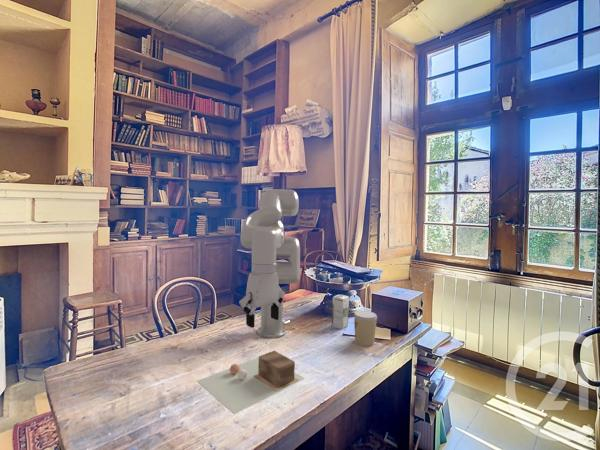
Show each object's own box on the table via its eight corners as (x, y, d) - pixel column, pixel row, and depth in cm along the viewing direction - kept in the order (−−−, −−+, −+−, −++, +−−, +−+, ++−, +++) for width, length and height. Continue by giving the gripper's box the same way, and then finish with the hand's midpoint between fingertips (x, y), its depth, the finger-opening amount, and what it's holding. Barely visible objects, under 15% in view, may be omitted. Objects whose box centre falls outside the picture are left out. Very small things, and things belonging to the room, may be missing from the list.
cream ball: (243, 375, 101) (243, 366, 101) (249, 379, 99) (249, 369, 99) (235, 378, 99) (235, 369, 99) (240, 382, 97) (241, 373, 96)
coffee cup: (356, 336, 138) (357, 309, 137) (378, 340, 134) (379, 312, 133) (350, 344, 129) (351, 315, 129) (373, 349, 125) (374, 319, 125)
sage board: (264, 358, 115) (264, 355, 115) (304, 382, 100) (305, 378, 100) (196, 384, 97) (196, 380, 97) (234, 418, 82) (234, 414, 82)
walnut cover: (258, 374, 101) (258, 356, 101) (273, 368, 105) (274, 350, 105) (278, 388, 94) (278, 368, 93) (294, 380, 98) (294, 361, 98)
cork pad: (275, 367, 106) (275, 366, 106) (298, 380, 99) (298, 379, 99) (253, 376, 100) (253, 375, 100) (276, 391, 92) (276, 390, 92)
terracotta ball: (236, 370, 104) (236, 361, 104) (241, 373, 102) (241, 364, 102) (228, 373, 102) (228, 364, 102) (233, 377, 100) (233, 367, 100)
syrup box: (337, 323, 153) (338, 293, 152) (348, 326, 149) (349, 296, 148) (331, 326, 148) (332, 296, 147) (342, 329, 144) (343, 298, 144)
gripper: (276, 263, 107) (275, 313, 108) (233, 270, 94) (232, 326, 95) (292, 267, 102) (291, 319, 103) (248, 274, 89) (247, 333, 90)
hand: (262, 322), depth 99 cm, fingers open, 9 cm apart
